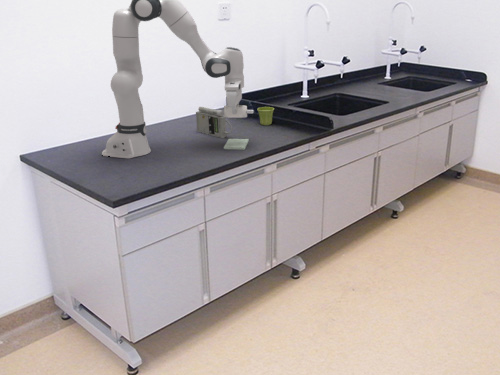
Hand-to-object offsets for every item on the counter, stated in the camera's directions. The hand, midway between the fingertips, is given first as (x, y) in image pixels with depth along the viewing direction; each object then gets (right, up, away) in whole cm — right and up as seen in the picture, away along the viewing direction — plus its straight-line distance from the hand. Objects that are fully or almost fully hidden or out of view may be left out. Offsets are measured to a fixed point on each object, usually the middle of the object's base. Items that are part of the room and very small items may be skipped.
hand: (235, 112), depth 236 cm
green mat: (0, -15, +6) cm, 16 cm away
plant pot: (+16, 0, +41) cm, 44 cm away
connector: (+2, -2, +1) cm, 2 cm away
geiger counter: (-11, -8, +24) cm, 27 cm away
